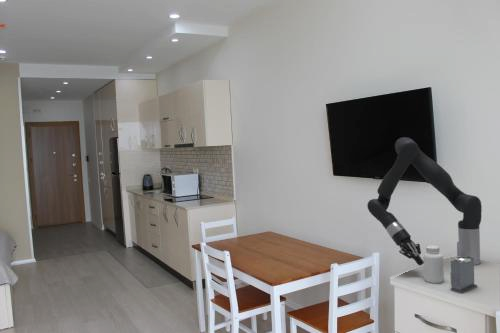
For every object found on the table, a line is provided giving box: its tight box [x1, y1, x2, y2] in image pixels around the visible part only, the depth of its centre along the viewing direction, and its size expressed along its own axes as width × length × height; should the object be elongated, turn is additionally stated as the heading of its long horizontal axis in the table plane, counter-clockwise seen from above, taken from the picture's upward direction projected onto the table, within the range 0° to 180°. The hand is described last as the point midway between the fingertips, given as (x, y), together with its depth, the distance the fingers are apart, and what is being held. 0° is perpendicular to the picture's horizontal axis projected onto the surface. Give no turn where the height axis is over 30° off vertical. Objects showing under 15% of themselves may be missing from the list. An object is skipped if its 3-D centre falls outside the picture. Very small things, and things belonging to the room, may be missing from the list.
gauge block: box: [449, 255, 478, 295], centre depth 177 cm, size 6×11×13 cm, turn 123°
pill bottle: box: [422, 245, 445, 284], centre depth 188 cm, size 8×8×15 cm
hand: (421, 264), depth 193 cm, fingers closed
